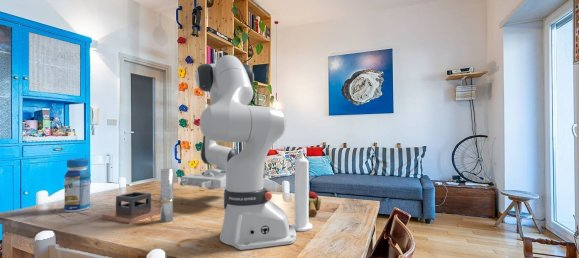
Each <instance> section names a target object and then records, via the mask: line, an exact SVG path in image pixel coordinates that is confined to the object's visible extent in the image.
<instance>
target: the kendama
mask: <svg viewBox="0 0 579 258" xmlns="http://www.w3.org/2000/svg"><path fill="white" fill-rule="evenodd" d="M321 203H322V197H321V196H319V195H318V194H317V192H315V191H309V216H310V217H313V218H314V217H316V216H317V214H318V213H317V212H318V211H317V210H320V208H321Z"/></svg>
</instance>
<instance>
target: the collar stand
mask: <svg viewBox="0 0 579 258" xmlns="http://www.w3.org/2000/svg"><path fill="white" fill-rule="evenodd" d="M144 200H145V201H144ZM122 202H125V203H122ZM160 212H161V207H156V206H152V193H149V192H141V191H134V192H129V193H124V194H121V195H116V196H115V210H113V211H108V212H105V213H101V219H102V220H108V221H113V222H114V221H115V222H119V223H124V224H125V223H126V224H129V223H130V224H133V223H136V222H138V221H142V220H144V219H147V218H151V217H153V216H157V215H158V214H160Z"/></svg>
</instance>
